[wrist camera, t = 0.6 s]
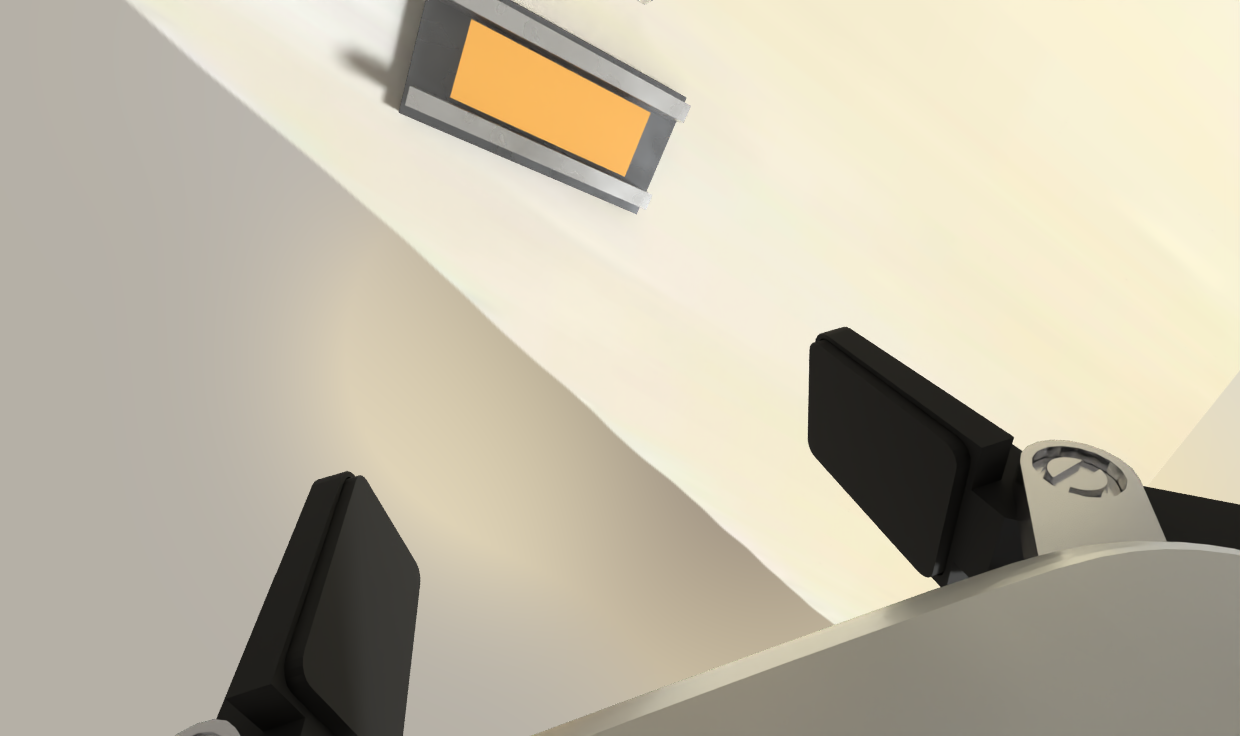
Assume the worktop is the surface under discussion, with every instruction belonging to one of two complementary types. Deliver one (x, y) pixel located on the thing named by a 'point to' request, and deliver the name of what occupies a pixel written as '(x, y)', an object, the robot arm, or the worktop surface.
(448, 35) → the rail
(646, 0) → the block
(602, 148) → the orange rectangular panel
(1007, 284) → the worktop surface
